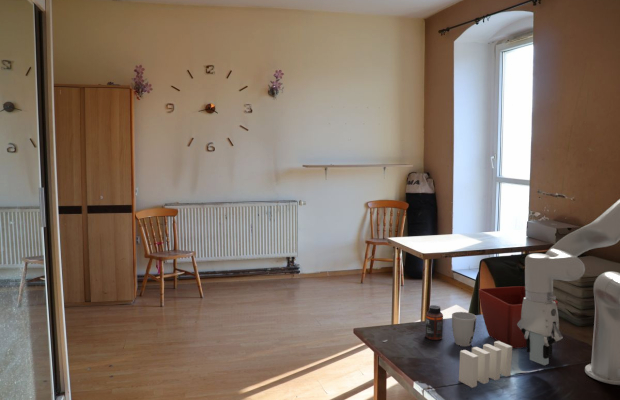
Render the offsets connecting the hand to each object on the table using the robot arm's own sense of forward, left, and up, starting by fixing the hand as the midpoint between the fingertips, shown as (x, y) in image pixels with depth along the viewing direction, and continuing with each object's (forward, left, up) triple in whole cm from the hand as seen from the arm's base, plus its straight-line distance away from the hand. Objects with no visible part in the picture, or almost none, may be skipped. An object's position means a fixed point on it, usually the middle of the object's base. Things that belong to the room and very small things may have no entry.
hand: (539, 353), depth 153 cm
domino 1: (+6, +24, -6) cm, 25 cm away
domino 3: (+6, +14, -6) cm, 16 cm away
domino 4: (+6, +9, -6) cm, 13 cm away
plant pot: (+21, -16, -7) cm, 27 cm away
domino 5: (0, 0, -3) cm, 3 cm away
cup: (+28, +2, -7) cm, 29 cm away
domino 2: (+6, +19, -6) cm, 21 cm away
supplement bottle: (+37, +7, -7) cm, 38 cm away
